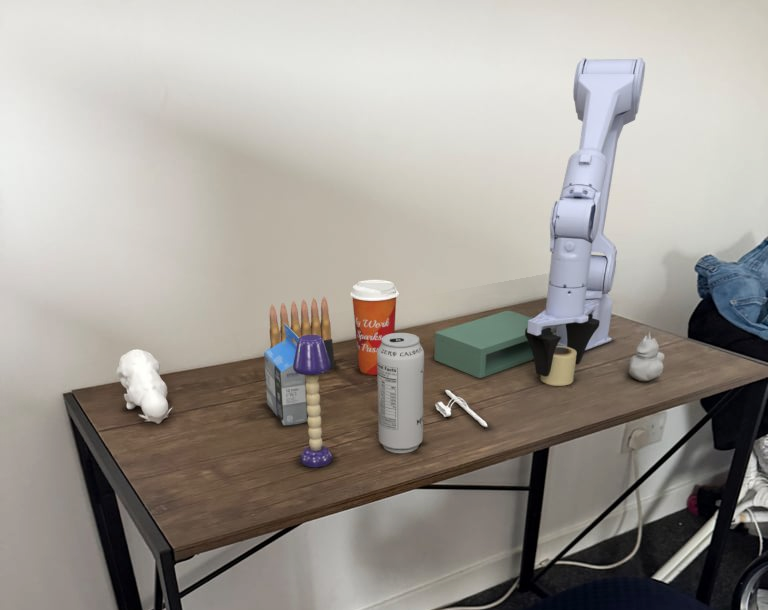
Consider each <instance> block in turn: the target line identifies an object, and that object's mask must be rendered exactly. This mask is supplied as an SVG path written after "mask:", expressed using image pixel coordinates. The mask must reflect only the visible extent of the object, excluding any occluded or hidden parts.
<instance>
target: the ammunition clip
mask: <svg viewBox="0 0 768 610" xmlns="http://www.w3.org/2000/svg"><path fill="white" fill-rule="evenodd" d="M286 307H287V306H286V305H285V303H284V302H282V303H281V306H280V314H279V317H280V326H279V322H278V315H277V312H276V311H277V310H276V307H275V306H274V304H271V305H270V309H269V341H270V348H272V347H274V346H275V345H277V344H279V343H281V342H282V341H284V340H285V339H286V334H285V327H284V323H285V324H286V325H287V326H288V327H289V328H290V329H291V330H292V331H293V332H294V333H295V334H296V335H297V336H298V337H299V338H300V337H301V336H304V335H318V336H321V337H322V339H323V341H324V344H325V347H326V350H327V354H328V357H329V360H330V364H331V368H330V370H334V369H335V368H336V364H335V363H336V361H335V354H334V344H333V339H332V330H331V329H332V327H331V321H330V313H329V306H328V301H327V298H326V297H325V296H323V297H322V299H321V305H320V314H319V307H318V304H317V301H316V299H315V297H314V298H313V297H312V301H311V305H310V317H309V309H308V304H307V302H306V300H305V299H303V300H302V301H301V306H300V319H299V311H298V307H297V305H296V302H295V301H292V302H291V306H290V323H289V316H288V311H287V308H286ZM279 327H280V328H279ZM291 338H292V337H291ZM292 341H293V342H294V343H295V344H296V345H297V343H296V341H295V340H294V337H293V338H292ZM270 348H269V349H270Z"/></svg>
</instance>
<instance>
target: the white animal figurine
mask: <svg viewBox="0 0 768 610" xmlns="http://www.w3.org/2000/svg"><path fill="white" fill-rule="evenodd" d="M160 366H161V364H160V362H159V361H158V360H157V359H156V358H155V357H154V355H153V354H152V353H150V352H148V351H146V350H143V349H137V348H135V349H131V350H130V351H128V352H126V353H124V354H123V355H121V357H120V358H119V363H118V367H117V368H116V375H117V377H118V379H119V382H120V384H121V386H122V387H124V388H125V389H126V393H124V394H123V398H124V400H125V401H126V406H125V407H126V408H127V409H128V410H133V409H135V408H136V407H140V408H141V410H142V413H143V414H138V416H139V417H140V418H142V419H145V422H152V423H155V424H158V425H159V424H161V423H162V422H163V420H164V419H166V418H168V417H169V413H170V412H171V411H172V409H173V407H171V408H169V403H168V400H167V396H168V393H169V392H168V386H167V384H166V382H165V381H163V379H162V377H161V375H160V374H159V372H160V368H161V367H160Z"/></svg>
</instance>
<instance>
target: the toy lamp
mask: <svg viewBox="0 0 768 610" xmlns="http://www.w3.org/2000/svg"><path fill="white" fill-rule="evenodd" d="M330 368H331V364H330V360H329V357H328V354H327V350H326V347H325V344H324V341H323V339H322V337H321V336H318V335H304V336H301V337H300V338H299V339H298V342H297V348H296V353H295V358H294V363H293V369H294V371H295V372H297V373H299V374H302V375H305V389H306V407H307V426H308V430H307V431H308V432H307V434H308V437H309V440H308V447H306V448H305V449H304V450H303V451H302V453H301V455H300V464H301V465H303V466H304V467H308V468H322V467H325V466H327V465H330V464H331V463H332V462H333V455H332V452H331V451H330V449H328V447H326V446H324V445H323V443H324V442H323V438H322V436H323V429H322V416H321V411H322V409H321V405H320V402H321V395H320V393H319V391H320V382H319V378H320V375H323V374H325V373H328V372H329V371H330V370H331V369H330Z"/></svg>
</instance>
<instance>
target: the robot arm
mask: <svg viewBox="0 0 768 610" xmlns="http://www.w3.org/2000/svg"><path fill="white" fill-rule="evenodd" d="M645 71H646V63H645V61H644V59H643V58H642V57H638V58H635V59H634V58H616V59H615V58H614V59H613V58H611V59H610V58H608V59H607V58H606V59H605V58H603V59H599V58H598V59H594V58H591V59H587V58H586V57H585V58H583V57H582V58H581V59H580V60H579V62H578V63H577V65H576V68H575V73H574V80H573V91H572V93H573V96H572V97H573V101H574V107H575V113H576V115H577V120H579V121H581V123H582V126H581V132H580V139H579V148H578V150H577V151H574V153H572V154H571V156H570V157H568V160H567V166H566V169H565V174H564V179H563V183H562V186H561V187H562V188H561V191H560V196H559V198H558V199H559V200H555V201H554V203H553V206H552V209H551V215H550V220H549V234H550V243H549V252H551V256H550V264H549V275H548V286H547V296H546V306H545V309H544V310H543V311H541V312H540V313H539V314H537V315H536V316H535V317H532V318H533V319H531V320H528V328H526V329H525V336H526V338H527V340H528V342H529V344H530V346H531V349H532V353H533V357H534V359H533V362H534V367H535V374H537V375H540V376H541V375H542V376H549V373H550V370H551V365H552V360H553V355H554V352H555V349H556V347H557V346H565V347H570V348H572V349H574V350H576V352H577V355H576V363H575V366H576V365H577V366H578V365H580V364H581V361H582V359H583V356H584V354H585V351H588V350H590V349H593V348H596V347H599V346H601V345H604V344H607V343H609V342H612V340H613V338H612V337H609V333H610V332H609V331H610V325H611V319H612V312H613V301H612V297H611V295H610V294H609V293H610V292H611V291H612V288H613V285H614V280H615V274H616V269H617V268H616V266H617V256H618V255H617V254H618V250H617V246H616V245H615V244H614V243H613V242H612V241H611V240H610V239H609V238H608V237H607V236H606V235H605V234H604V230H605V225H606V217H607V211H608V206H609V198H610V192H611V186H612V180H613V173H614V166H615V162H616V161H615V160H616V156H617V155H616V154H617V148H618V142H619V140H620V139H619V138H620V136H621V133H622V132H623V128H624V126H625V125H628V124H630V123H632V122H634V121H636V116H637V114H638V113H639V109H640V103H641V96H642V92H643V86H644V79H645ZM592 253H600V254H592ZM601 254H603V255H601ZM552 328H555V329H556V332H555V334H554V335H553V332H551V329H552Z"/></svg>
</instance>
